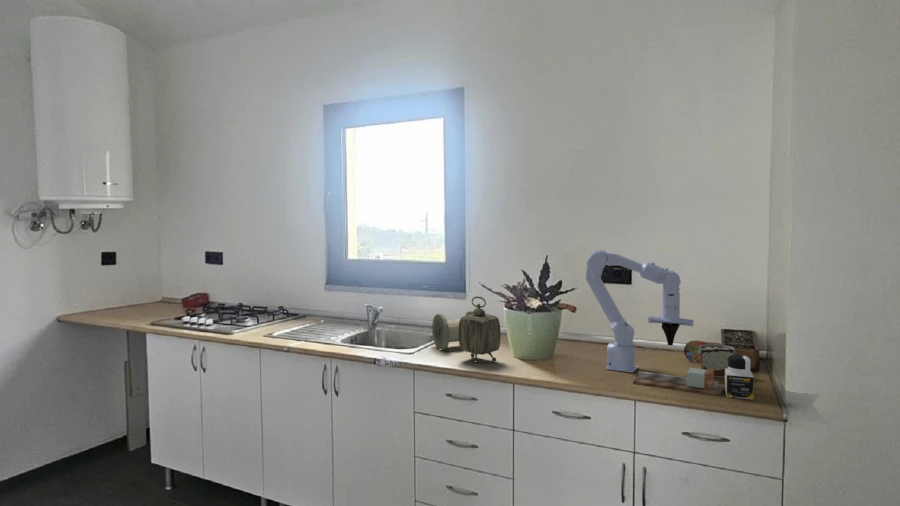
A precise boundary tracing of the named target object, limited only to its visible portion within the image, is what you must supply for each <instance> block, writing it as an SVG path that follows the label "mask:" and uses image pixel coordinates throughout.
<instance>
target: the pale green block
mask: <svg viewBox="0 0 900 506" xmlns="http://www.w3.org/2000/svg"><path fill="white" fill-rule="evenodd" d="M705 371H706V370H704V369H701V368H695V367H689V369H688V370H687V372H686V377H687V386H691V387H698V388H704V373H705Z"/></svg>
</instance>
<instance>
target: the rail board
mask: <svg viewBox="0 0 900 506" xmlns="http://www.w3.org/2000/svg"><path fill="white" fill-rule="evenodd" d="M632 384H634V385H642V386H648V387H656V388H662V389H668V388H669V390H675V389H678V390H677V391H682V390H685V391H684V392H689V391H692V392H691V393H695V392H698V393H697V394H702V393H704V394H705V395H709V394H711V396H716V395H720V396H719V397H722V395H721V394H723V393H724V391H725V388H724V387H725V384H720V383H719V382H718V381H715V377H714V369H709V368H707V369H706V371H705V373H704V388H698V387H691V386H687V376H686V377H685V376H680V375H679V376H677V375H671V374H662V373H656V372H648V371H640V370H639V371H637V376H636V378H634V379H633V381H632Z"/></svg>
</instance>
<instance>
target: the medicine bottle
mask: <svg viewBox="0 0 900 506" xmlns="http://www.w3.org/2000/svg"><path fill="white" fill-rule="evenodd" d="M751 360H752V359H750V358H749V357H748V356H747V355H742V354H734V355H731V356H729V357H728V368H725V377H724V385H725V388H724V392H725V395H726V397H727V398H732V397H735V398H736V399H742V400H743V399H746V400H754V383H755V382H754V380H755V379H754V378H755V377H754V375H753V373H752V371H751ZM735 398H734V399H735Z"/></svg>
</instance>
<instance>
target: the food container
mask: <svg viewBox="0 0 900 506" xmlns="http://www.w3.org/2000/svg"><path fill="white" fill-rule="evenodd" d="M719 344H720V343H719ZM719 344H705V345H701V346H700V348H699V350H698V353H699V354H700V358H701V364H700V366H701V368H700V369H704V370H706V369H707V368H709V369H714V378H725V368H728V357H729V356H731V355H737V354H736V349H735V347H734V346H730V345H725V344H722V345H719Z"/></svg>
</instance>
